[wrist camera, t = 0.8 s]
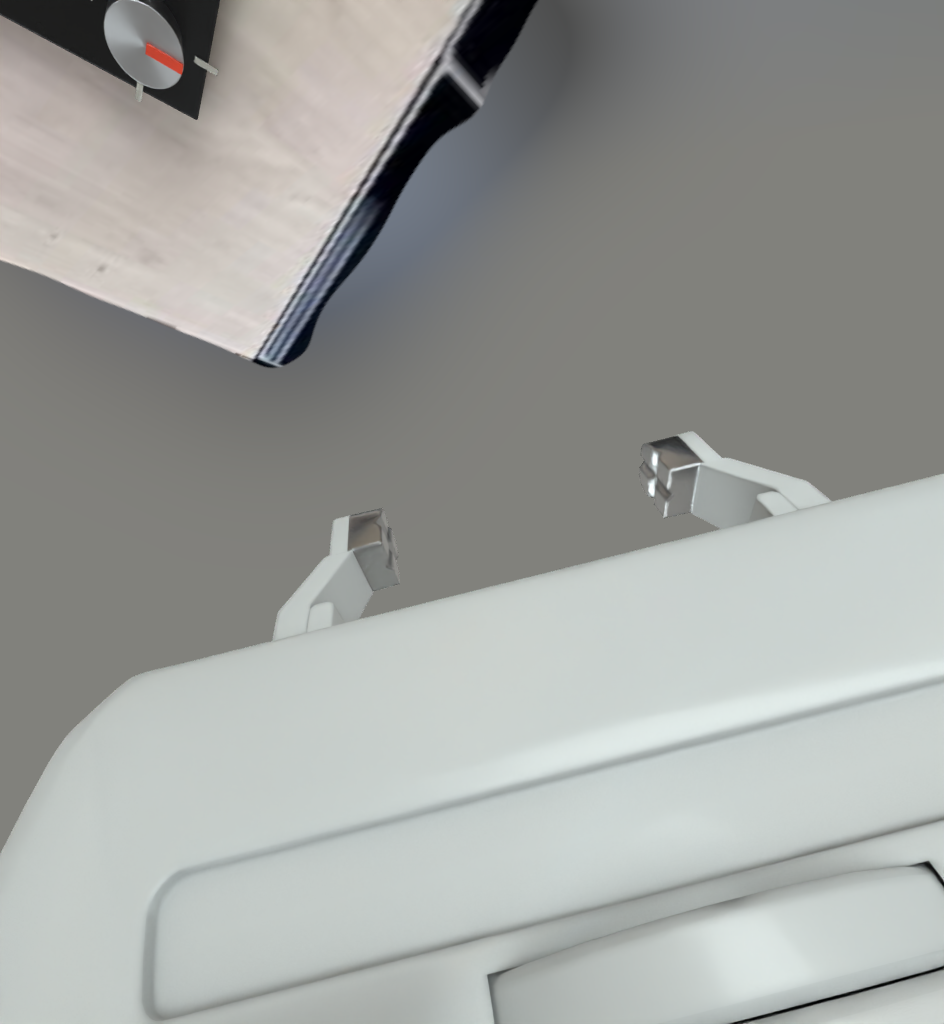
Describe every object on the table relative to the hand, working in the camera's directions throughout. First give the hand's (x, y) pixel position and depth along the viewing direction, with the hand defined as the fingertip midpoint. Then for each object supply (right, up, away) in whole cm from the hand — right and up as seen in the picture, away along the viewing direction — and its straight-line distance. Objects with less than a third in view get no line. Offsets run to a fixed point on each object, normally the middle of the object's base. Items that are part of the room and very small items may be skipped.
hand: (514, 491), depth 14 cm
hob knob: (-22, +30, +16) cm, 41 cm away
